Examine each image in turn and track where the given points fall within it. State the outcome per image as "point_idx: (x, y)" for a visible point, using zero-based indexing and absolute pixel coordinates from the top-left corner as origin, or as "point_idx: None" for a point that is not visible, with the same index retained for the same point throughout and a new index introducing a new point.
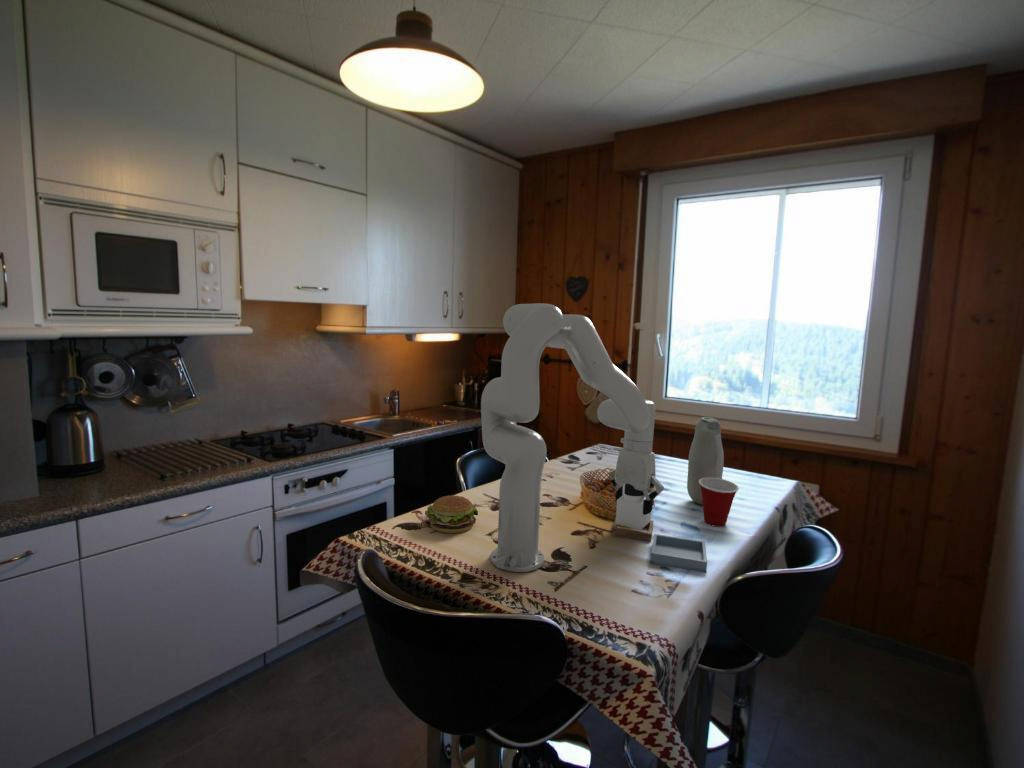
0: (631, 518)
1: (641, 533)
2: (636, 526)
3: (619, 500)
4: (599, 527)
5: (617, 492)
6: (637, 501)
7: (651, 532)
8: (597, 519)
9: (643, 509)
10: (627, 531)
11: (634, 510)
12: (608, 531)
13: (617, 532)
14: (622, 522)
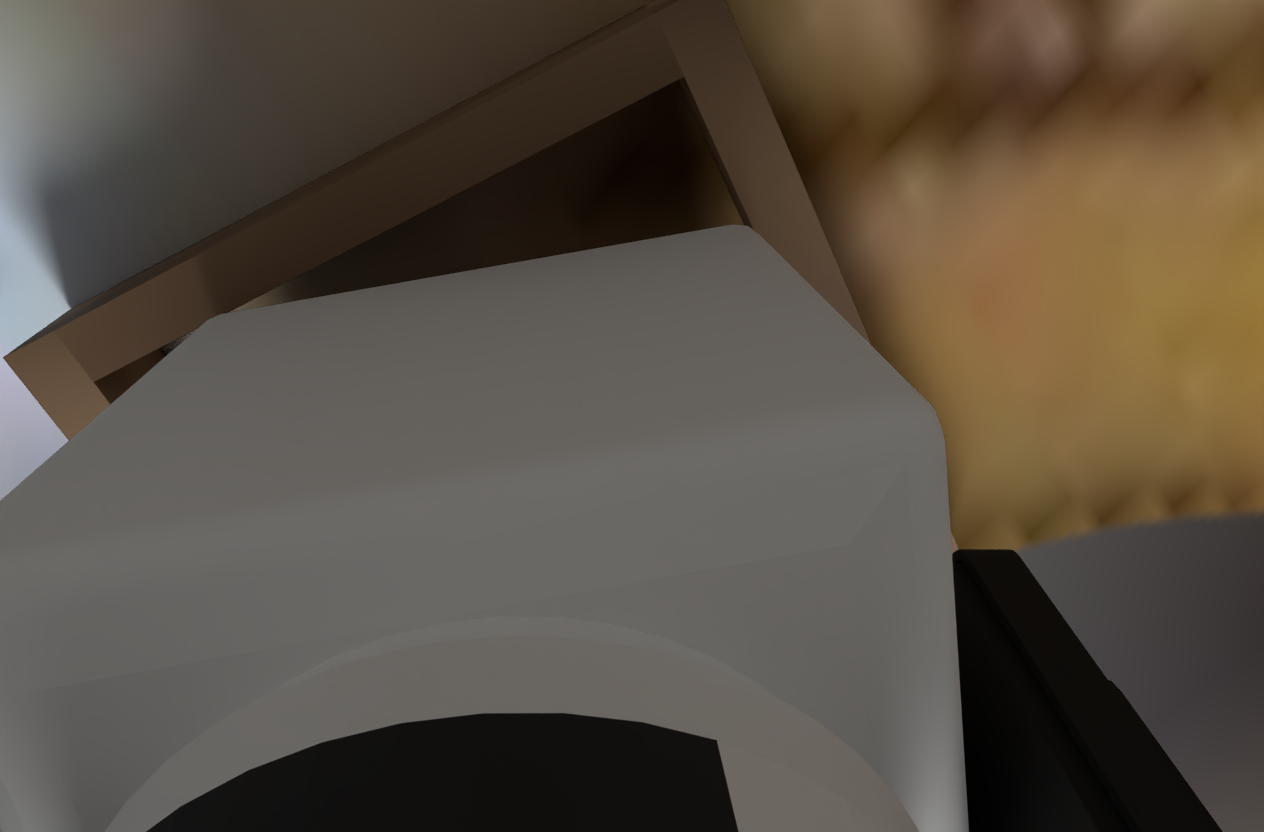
0: (376, 332)
1: (170, 266)
2: (284, 312)
3: (821, 438)
4: (1066, 144)
5: (1169, 829)
6: (186, 744)
7: (66, 431)
8: (1253, 428)
9: None
10: (416, 136)
11: (234, 429)
12: (845, 112)
13: (601, 37)
14: (612, 256)
